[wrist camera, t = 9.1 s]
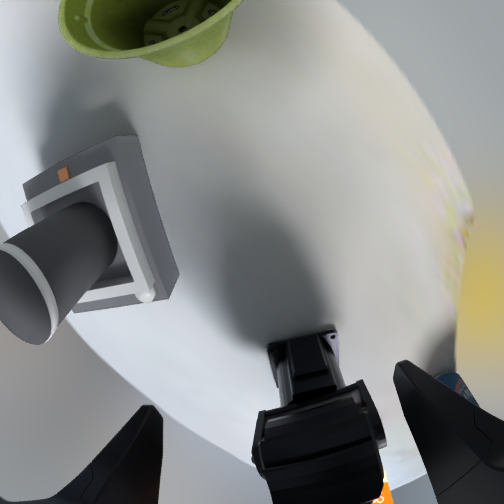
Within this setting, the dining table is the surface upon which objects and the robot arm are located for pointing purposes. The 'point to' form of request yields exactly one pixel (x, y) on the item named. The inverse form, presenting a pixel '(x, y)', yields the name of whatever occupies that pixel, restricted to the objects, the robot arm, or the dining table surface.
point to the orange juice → (384, 494)
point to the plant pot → (146, 28)
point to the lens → (53, 269)
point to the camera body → (112, 220)
